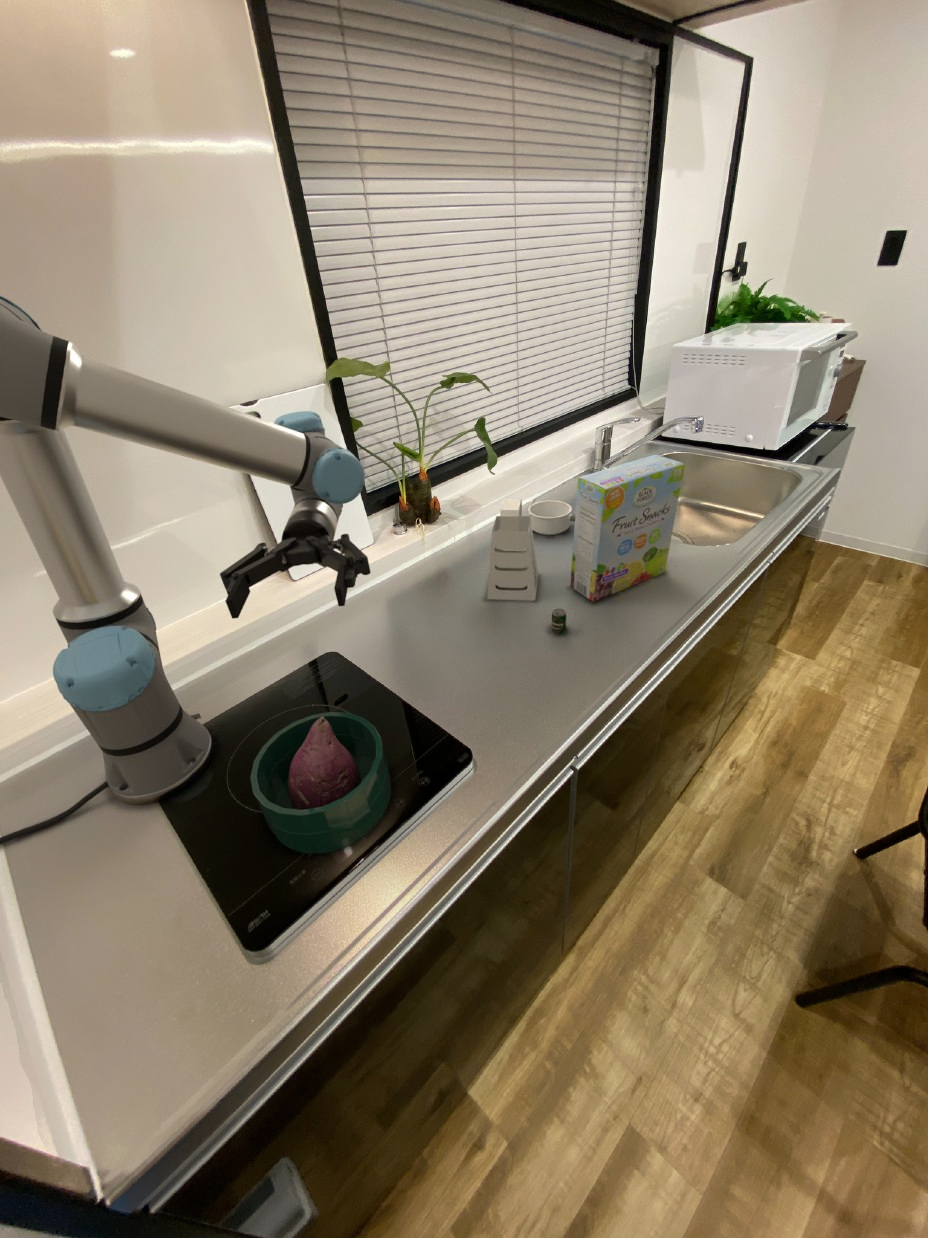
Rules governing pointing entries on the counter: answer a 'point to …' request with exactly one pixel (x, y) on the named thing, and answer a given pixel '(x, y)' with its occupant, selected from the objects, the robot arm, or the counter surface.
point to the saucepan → (550, 517)
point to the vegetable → (321, 769)
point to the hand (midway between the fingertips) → (285, 603)
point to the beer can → (558, 621)
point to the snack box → (624, 525)
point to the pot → (335, 819)
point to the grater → (512, 554)
